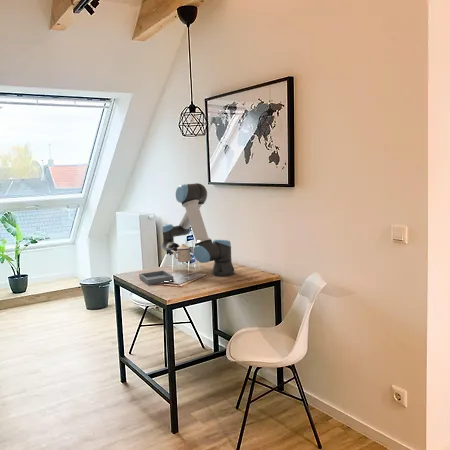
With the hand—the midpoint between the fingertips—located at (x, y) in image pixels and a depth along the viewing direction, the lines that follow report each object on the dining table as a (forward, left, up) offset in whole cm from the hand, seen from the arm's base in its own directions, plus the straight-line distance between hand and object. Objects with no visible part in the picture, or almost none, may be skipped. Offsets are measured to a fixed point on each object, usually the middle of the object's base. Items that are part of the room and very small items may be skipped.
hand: (183, 252), depth 314 cm
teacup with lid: (0, -4, -7) cm, 8 cm away
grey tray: (+19, -4, -17) cm, 26 cm away
